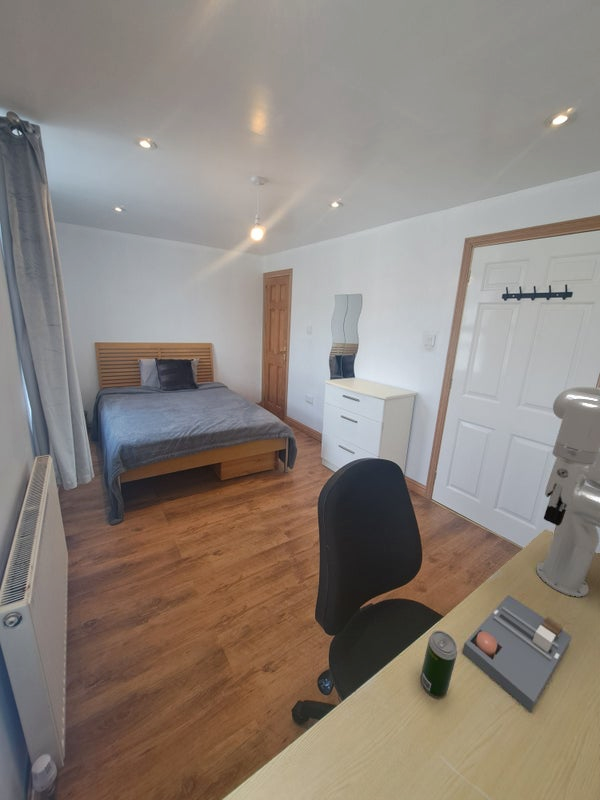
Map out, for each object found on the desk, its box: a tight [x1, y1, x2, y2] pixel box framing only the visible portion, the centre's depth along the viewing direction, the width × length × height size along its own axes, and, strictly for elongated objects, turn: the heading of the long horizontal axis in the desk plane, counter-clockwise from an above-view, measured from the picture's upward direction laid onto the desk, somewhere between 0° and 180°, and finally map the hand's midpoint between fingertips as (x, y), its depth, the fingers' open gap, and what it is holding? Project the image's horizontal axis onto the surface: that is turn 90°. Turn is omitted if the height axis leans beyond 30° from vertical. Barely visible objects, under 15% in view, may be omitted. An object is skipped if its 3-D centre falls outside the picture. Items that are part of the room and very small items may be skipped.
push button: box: [474, 631, 497, 660], centre depth 74 cm, size 4×4×4 cm
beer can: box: [420, 630, 458, 699], centre depth 66 cm, size 5×5×12 cm
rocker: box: [541, 616, 564, 637], centre depth 78 cm, size 5×3×1 cm, turn 127°
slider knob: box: [532, 625, 556, 653], centre depth 74 cm, size 3×3×3 cm
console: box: [461, 594, 573, 713], centre depth 76 cm, size 24×14×4 cm, turn 126°
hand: (552, 521), depth 78 cm, fingers closed
